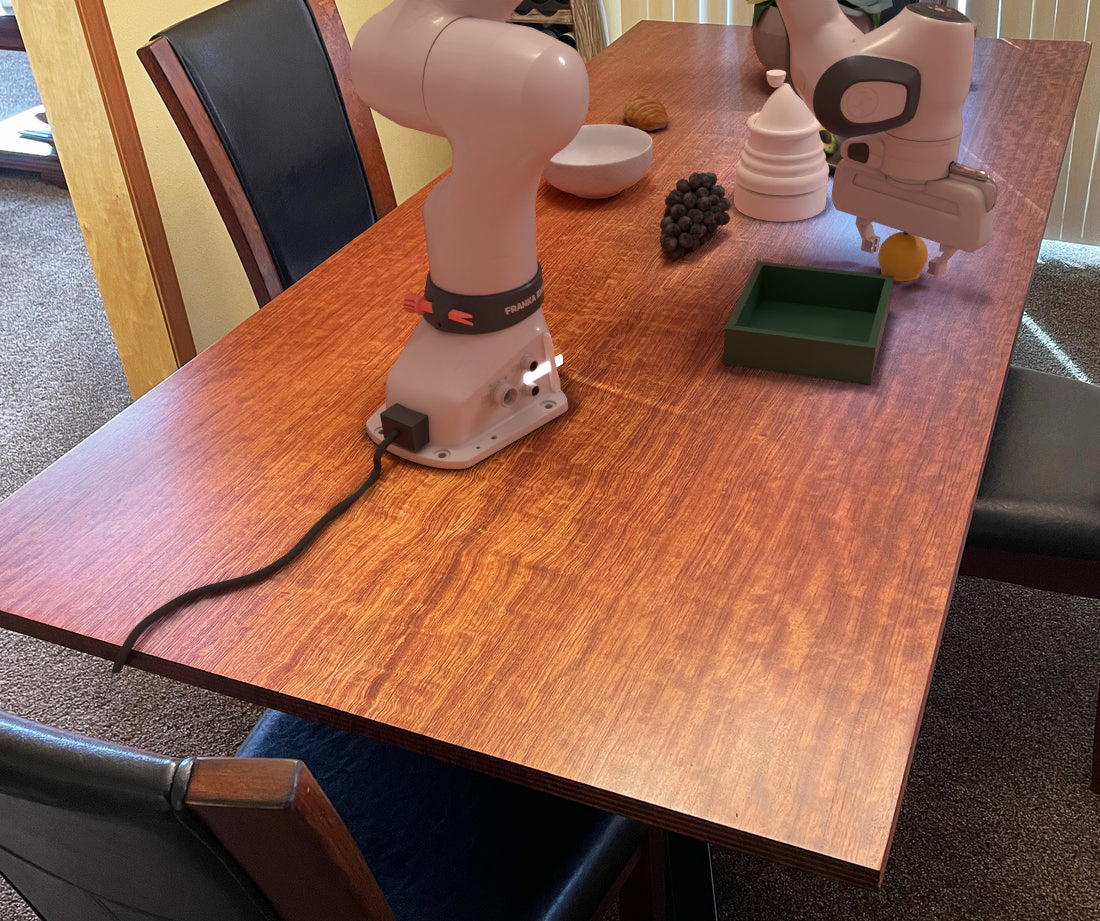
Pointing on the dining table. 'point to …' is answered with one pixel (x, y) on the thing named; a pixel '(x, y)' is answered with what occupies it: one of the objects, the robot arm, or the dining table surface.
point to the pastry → (645, 113)
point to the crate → (809, 322)
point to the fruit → (693, 213)
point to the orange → (902, 256)
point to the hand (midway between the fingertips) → (902, 262)
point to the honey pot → (782, 160)
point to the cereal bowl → (601, 161)
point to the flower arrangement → (769, 34)
